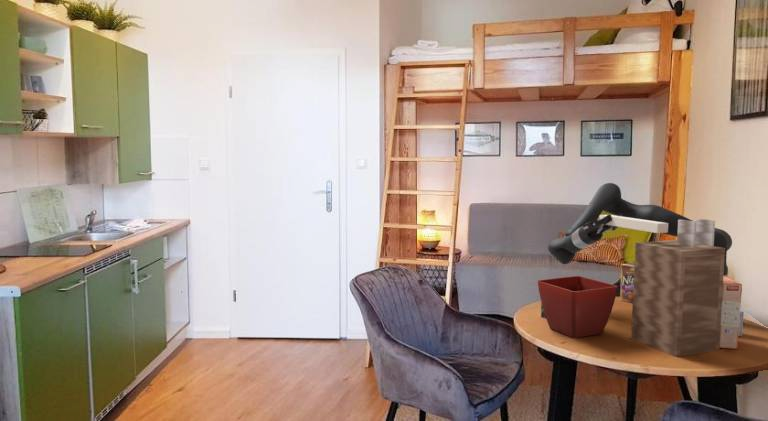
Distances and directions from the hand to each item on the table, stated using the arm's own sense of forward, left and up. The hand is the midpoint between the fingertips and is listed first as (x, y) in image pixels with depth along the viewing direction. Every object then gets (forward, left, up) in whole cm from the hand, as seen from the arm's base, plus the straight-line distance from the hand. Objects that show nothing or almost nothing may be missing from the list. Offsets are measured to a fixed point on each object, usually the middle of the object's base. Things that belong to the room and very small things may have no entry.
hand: (616, 217), depth 201 cm
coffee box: (+18, -11, -39) cm, 44 cm away
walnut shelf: (-12, +20, -39) cm, 45 cm away
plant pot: (+15, +6, -39) cm, 42 cm away
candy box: (-22, -33, -39) cm, 56 cm away
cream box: (-2, +7, -3) cm, 8 cm away
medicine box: (-36, +9, -39) cm, 54 cm away
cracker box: (-28, +18, -39) cm, 51 cm away
